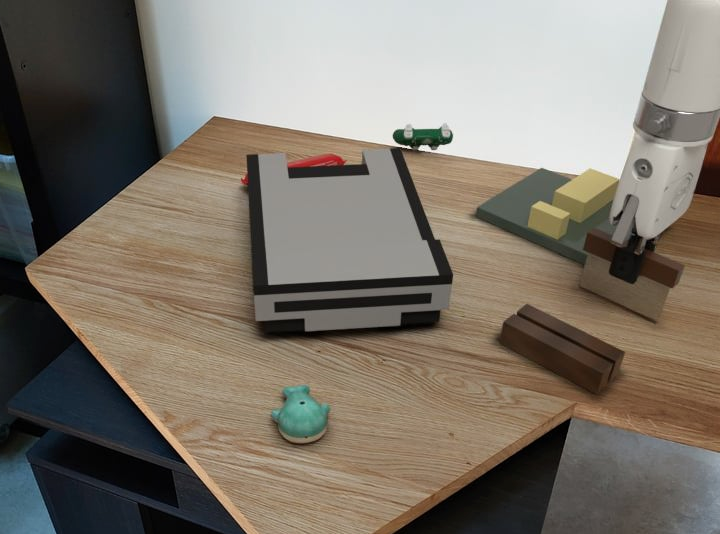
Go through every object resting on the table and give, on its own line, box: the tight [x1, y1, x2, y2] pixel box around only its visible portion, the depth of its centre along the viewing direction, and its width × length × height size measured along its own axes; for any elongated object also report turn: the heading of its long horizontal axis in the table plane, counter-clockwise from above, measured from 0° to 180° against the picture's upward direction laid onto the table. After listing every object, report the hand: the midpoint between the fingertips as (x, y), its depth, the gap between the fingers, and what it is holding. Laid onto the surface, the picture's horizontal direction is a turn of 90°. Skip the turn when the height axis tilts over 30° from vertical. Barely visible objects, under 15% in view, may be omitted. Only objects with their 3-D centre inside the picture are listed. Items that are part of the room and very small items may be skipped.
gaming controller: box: [392, 122, 454, 152], centre depth 120 cm, size 9×4×6 cm
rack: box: [498, 303, 626, 395], centre depth 83 cm, size 12×5×3 cm, turn 46°
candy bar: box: [240, 153, 348, 186], centre depth 112 cm, size 16×4×3 cm, turn 118°
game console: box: [245, 147, 454, 335], centre depth 95 cm, size 21×32×8 cm, turn 6°
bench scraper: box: [579, 228, 686, 322], centre depth 88 cm, size 11×2×7 cm, turn 46°
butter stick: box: [552, 168, 620, 223], centre depth 104 cm, size 4×9×3 cm, turn 136°
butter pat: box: [527, 201, 570, 240], centre depth 99 cm, size 4×2×3 cm, turn 46°
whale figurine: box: [270, 384, 331, 444], centre depth 75 cm, size 6×7×4 cm
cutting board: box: [475, 167, 635, 266], centre depth 104 cm, size 20×16×2 cm
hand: (627, 273), depth 88 cm, fingers closed on bench scraper, 1 cm apart
